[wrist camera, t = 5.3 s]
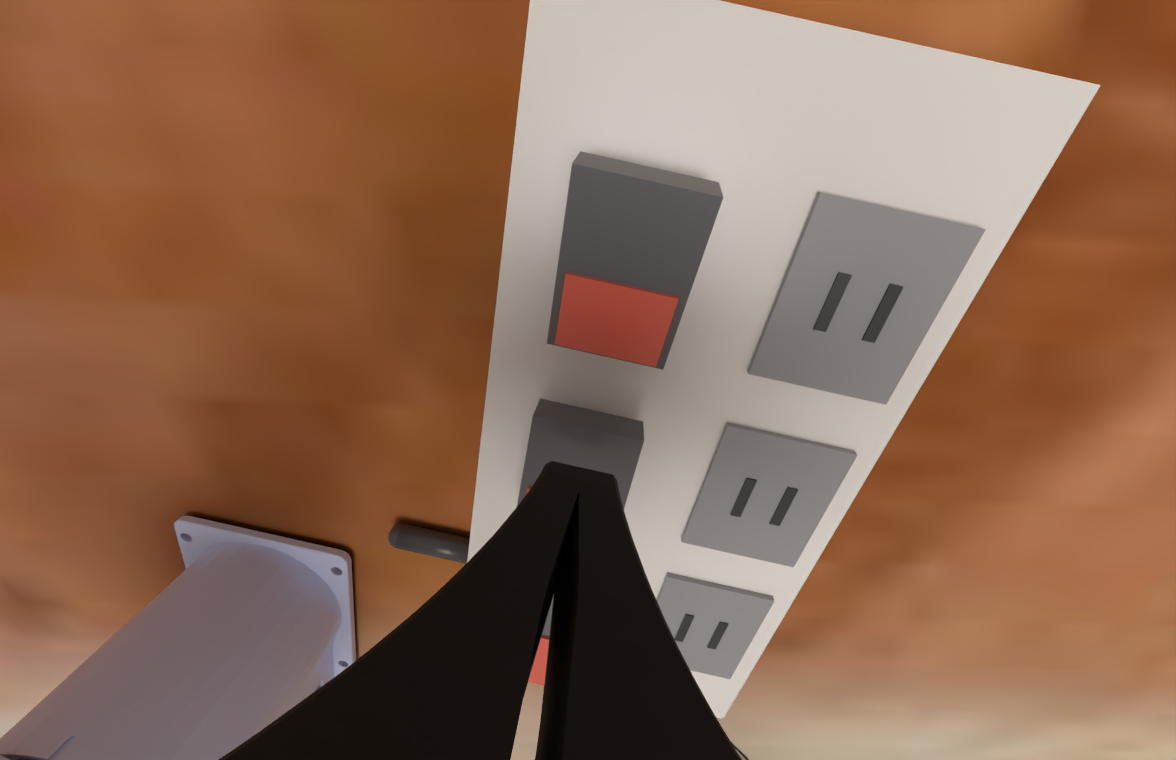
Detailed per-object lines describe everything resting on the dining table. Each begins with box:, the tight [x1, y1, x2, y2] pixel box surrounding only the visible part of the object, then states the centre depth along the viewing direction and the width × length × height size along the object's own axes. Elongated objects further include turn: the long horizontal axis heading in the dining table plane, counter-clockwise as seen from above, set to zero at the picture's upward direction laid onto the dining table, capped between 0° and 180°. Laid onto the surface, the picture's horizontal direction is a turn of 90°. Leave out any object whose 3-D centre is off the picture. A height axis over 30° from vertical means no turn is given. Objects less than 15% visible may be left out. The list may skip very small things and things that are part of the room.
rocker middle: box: [517, 398, 644, 509], centre depth 13 cm, size 4×3×2 cm
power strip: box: [388, 0, 1100, 719], centre depth 15 cm, size 22×15×4 cm
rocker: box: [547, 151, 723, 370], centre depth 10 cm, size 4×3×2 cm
